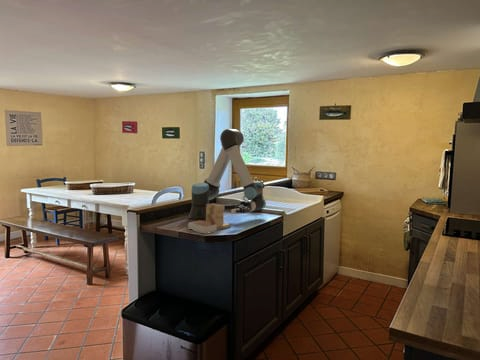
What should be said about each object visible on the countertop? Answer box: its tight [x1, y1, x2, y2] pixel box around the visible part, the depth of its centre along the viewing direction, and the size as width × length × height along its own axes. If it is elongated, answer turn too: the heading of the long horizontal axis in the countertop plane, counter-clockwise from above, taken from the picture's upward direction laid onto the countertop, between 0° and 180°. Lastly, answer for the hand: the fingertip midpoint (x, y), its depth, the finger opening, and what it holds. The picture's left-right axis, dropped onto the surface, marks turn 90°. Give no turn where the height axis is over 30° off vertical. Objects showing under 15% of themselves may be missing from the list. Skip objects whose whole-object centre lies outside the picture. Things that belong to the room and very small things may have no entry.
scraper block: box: [205, 202, 224, 226], centre depth 214 cm, size 9×6×12 cm, turn 46°
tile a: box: [197, 220, 206, 226], centre depth 211 cm, size 4×4×3 cm
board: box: [217, 222, 231, 231], centre depth 215 cm, size 13×12×2 cm
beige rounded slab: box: [187, 220, 218, 234], centre depth 208 cm, size 15×9×4 cm, turn 46°
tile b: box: [203, 222, 212, 227], centre depth 208 cm, size 4×4×3 cm
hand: (223, 210), depth 219 cm, fingers open, 13 cm apart
